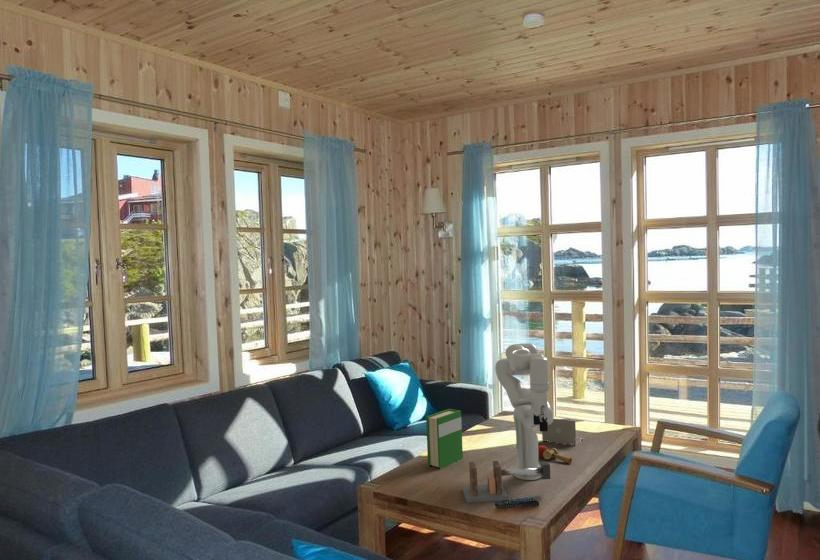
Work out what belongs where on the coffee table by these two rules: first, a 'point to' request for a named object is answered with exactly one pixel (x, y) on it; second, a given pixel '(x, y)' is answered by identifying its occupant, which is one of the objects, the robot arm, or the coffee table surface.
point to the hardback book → (444, 438)
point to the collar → (491, 484)
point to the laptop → (561, 432)
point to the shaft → (530, 471)
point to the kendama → (552, 454)
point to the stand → (496, 475)
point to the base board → (483, 494)
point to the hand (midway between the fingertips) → (540, 427)
